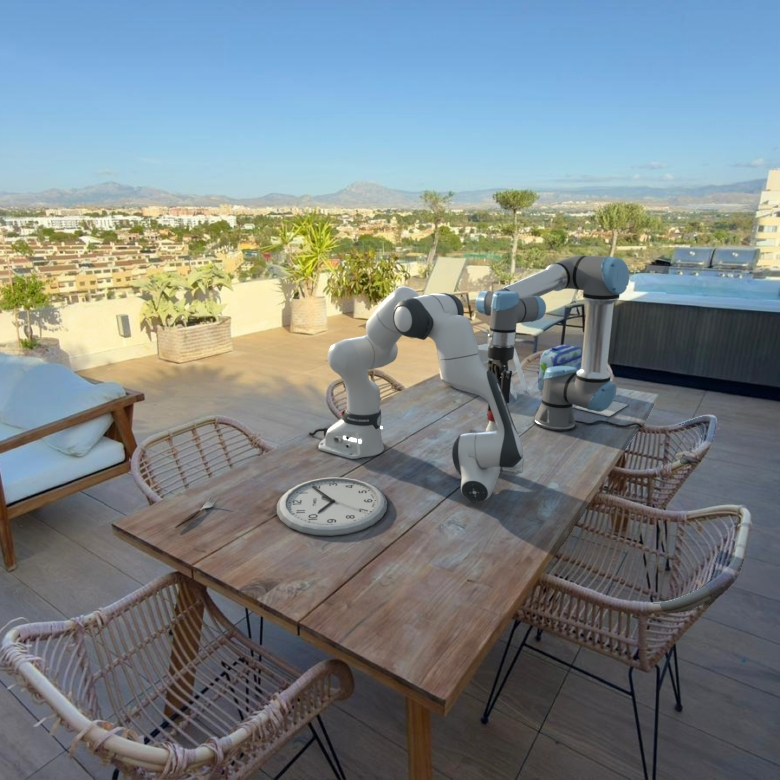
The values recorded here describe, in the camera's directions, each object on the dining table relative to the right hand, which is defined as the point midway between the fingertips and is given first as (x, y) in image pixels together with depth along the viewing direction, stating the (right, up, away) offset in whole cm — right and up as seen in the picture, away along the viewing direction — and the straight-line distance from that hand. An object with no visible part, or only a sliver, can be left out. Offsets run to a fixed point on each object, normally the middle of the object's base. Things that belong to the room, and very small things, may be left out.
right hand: (495, 419), depth 160 cm
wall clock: (-48, -23, -17) cm, 56 cm away
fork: (-83, -24, -23) cm, 89 cm away
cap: (0, +2, -1) cm, 2 cm away
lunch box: (+48, +9, +89) cm, 102 cm away
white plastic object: (+9, +8, +83) cm, 84 cm away
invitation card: (+59, +2, +66) cm, 89 cm away
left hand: (0, -10, +4) cm, 11 cm away
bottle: (0, -16, +5) cm, 17 cm away
